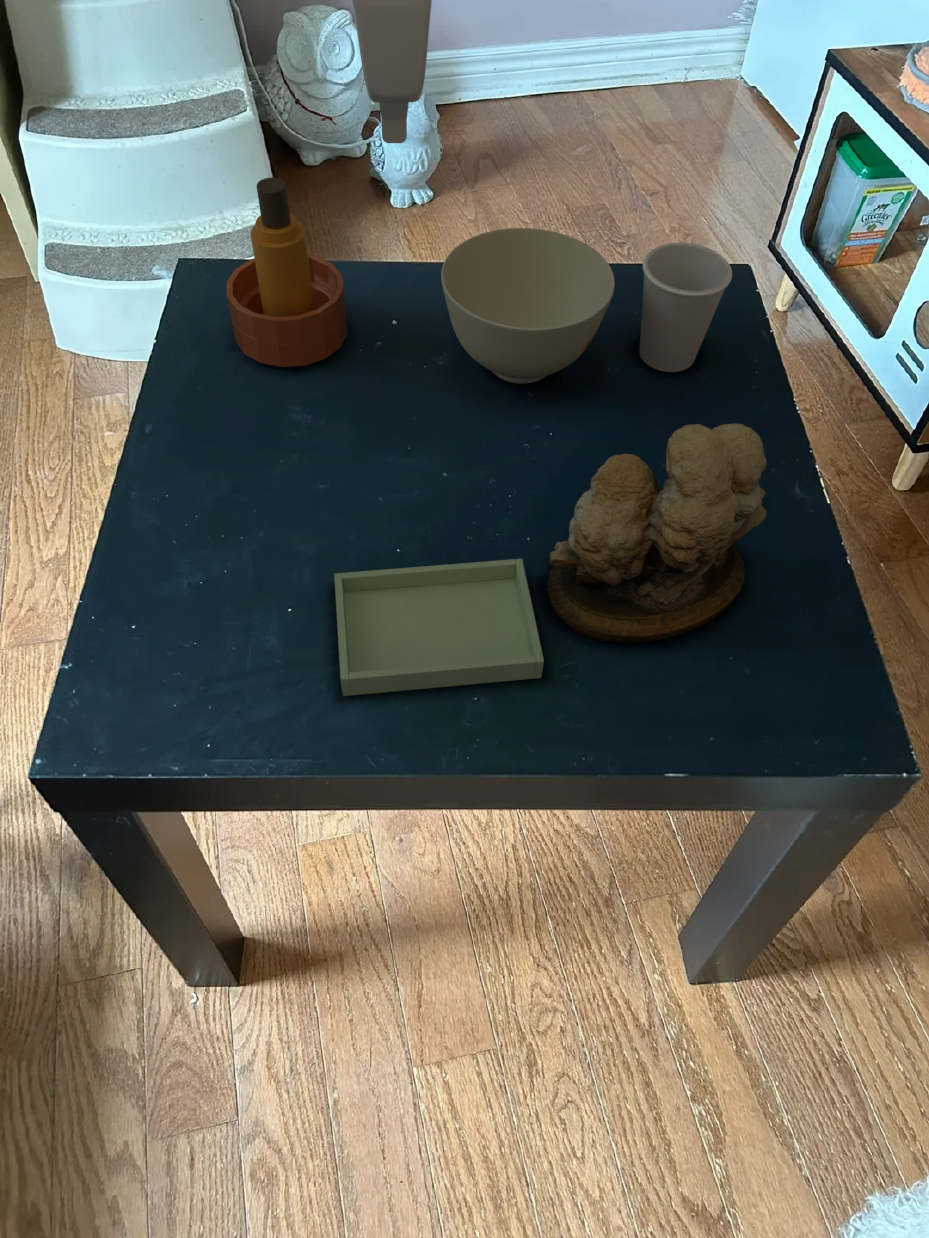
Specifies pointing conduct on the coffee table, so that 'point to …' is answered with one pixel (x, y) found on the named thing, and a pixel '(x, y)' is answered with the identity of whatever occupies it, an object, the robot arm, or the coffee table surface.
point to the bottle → (280, 254)
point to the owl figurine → (660, 538)
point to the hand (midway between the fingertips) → (392, 108)
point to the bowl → (526, 300)
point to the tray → (435, 627)
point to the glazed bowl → (288, 318)
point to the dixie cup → (679, 302)
